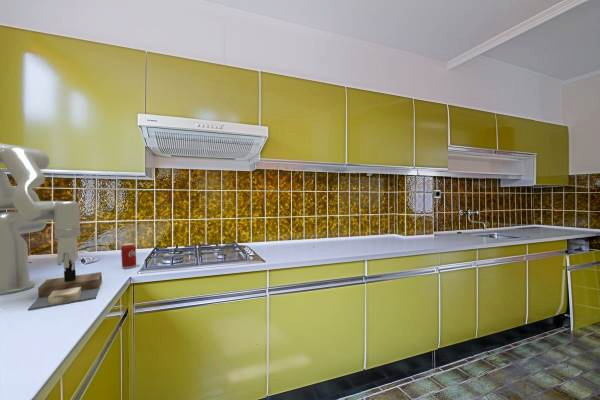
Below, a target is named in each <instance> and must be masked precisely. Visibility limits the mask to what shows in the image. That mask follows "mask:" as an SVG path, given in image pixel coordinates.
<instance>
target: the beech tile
mask: <svg viewBox="0 0 600 400" xmlns="http://www.w3.org/2000/svg"><path fill="white" fill-rule="evenodd" d="M80 295H81V287H77V288H70V289H64V290H57V291H53V292H52V293H51V294H50V296H49V297H48V303H49V304H54V303H60V302H66V301H72V300H77V299H79V297H80Z"/></svg>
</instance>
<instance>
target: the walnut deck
mask: <svg viewBox="0 0 600 400" xmlns="http://www.w3.org/2000/svg"><path fill="white" fill-rule="evenodd" d="M102 282H103V276H102V271H99V272H92V273H84V274H78V275H77V274H76V279H75V281H69V282H65V281H64V276H63V277H56V278H49V279H46V280H44V282H43V283H41V285H40V286H39V287H38V289H37V291H38V298H42V297H49V296H50V294H51V293H52V292H53V291H57V290H64V289H70V288H77V287H81V291H86V290H92V289H98V288H99V289H100V288H101V285H102Z"/></svg>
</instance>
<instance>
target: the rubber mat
mask: <svg viewBox="0 0 600 400" xmlns="http://www.w3.org/2000/svg"><path fill="white" fill-rule="evenodd" d="M99 289H100V288H98V289H92V290H86V291H81V295H80V297H79V299H77V300H72V301H66V302H60V303H54V304H49V303H48V297H42V298H39V297H38V298H37V299H36V300H34V302H33V303H32V304H31V305H30V306H29V307H28V308H27V311H29V312H30V311H35V310H39V309H45V308H51V307H57V306H62V305H68V304H74V303H79V302H84V301H90V300H96V299H97V296H98V292H99Z"/></svg>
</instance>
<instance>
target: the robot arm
mask: <svg viewBox="0 0 600 400" xmlns="http://www.w3.org/2000/svg"><path fill="white" fill-rule="evenodd" d="M0 165H4V166H5V167H6V169H7V171H8V172H9V173H10V175H11V176H12V178H13V180H14V181H15V183H16V184H17V185H15V186H13V185H12V184H11V182H10V179H9V177H8V175H7V174H6V173H5V171H3V170H2V169H1V168H0V211H2V212H0V295H8V294H14V293H19V292H23V291H27V290H29V289H32V288H33V287H35V285H36V283H35V282H34V281H30V269H29V268H30V266H29V249H28V244H27V241H26V240H25V239H24V238H23V237H22V236H21V235H23V234H29V233H37V232H40V231H42V230H44V229H45V227H46V226H47V221H53V225H54V228H53V229H54V238H55V240H56V239H57V249H56V252H57V254H56V255H57V257H56V258H57V261H56V264H57V265H58V266H61V265H62V264H63V277H64V281H65V282H69V281H75V279H76V276H77V274H76V262H77V260H78V256H79V250H78V237H81V224H80V222H81V220H80V205H79V203H78V201H74V200H68V201H67V200H65V201H64V200H45V201H44V200H40V197H39V196H38V194H37V193H36V191H35V190H34V189H35V188H38V187H39V186H41V185H42V184H44V183H45V181H46V176H45V175H44V174H43V172H42V170H45V169H47V168H48V167H49V166H50V157H49V155H48V154H47V153H46V152H45V151H43V150H41V149H37V148H31V147H26V146H22V145H18V144H17V145H15V144H8V143H1V142H0ZM9 210H11V211H9Z"/></svg>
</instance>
